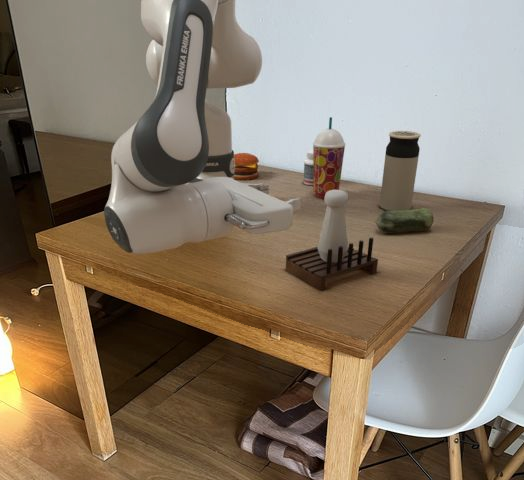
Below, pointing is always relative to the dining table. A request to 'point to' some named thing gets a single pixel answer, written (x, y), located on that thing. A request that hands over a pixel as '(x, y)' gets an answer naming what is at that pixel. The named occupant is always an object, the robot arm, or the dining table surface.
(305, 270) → the drying rack
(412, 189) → the travel mug
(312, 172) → the pill bottle
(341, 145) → the smoothie
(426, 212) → the vegetable
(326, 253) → the salt shaker
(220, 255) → the dining table surface
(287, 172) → the dining table surface
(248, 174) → the hamburger
